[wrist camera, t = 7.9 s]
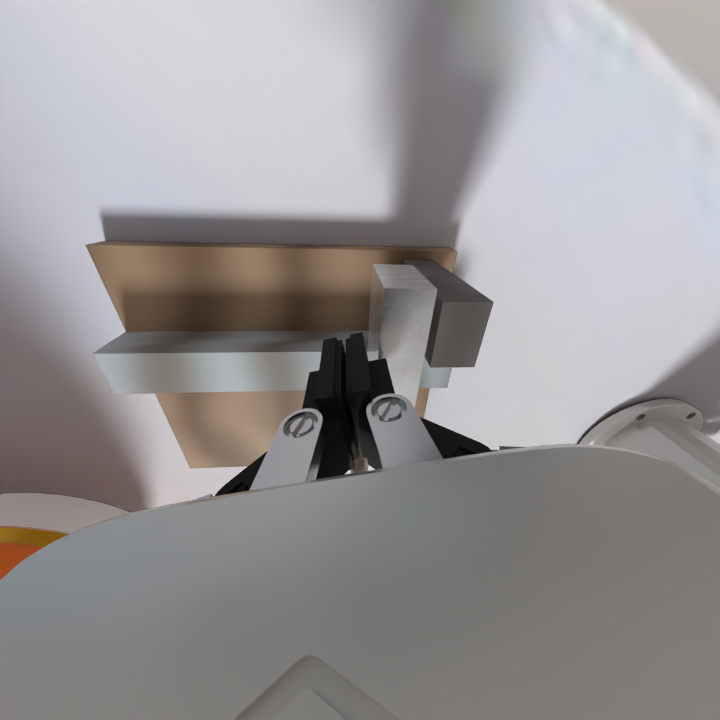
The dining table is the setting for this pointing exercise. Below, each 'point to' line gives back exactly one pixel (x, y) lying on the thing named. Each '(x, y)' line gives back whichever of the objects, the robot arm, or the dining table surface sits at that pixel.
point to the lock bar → (399, 328)
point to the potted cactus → (43, 522)
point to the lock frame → (258, 330)
